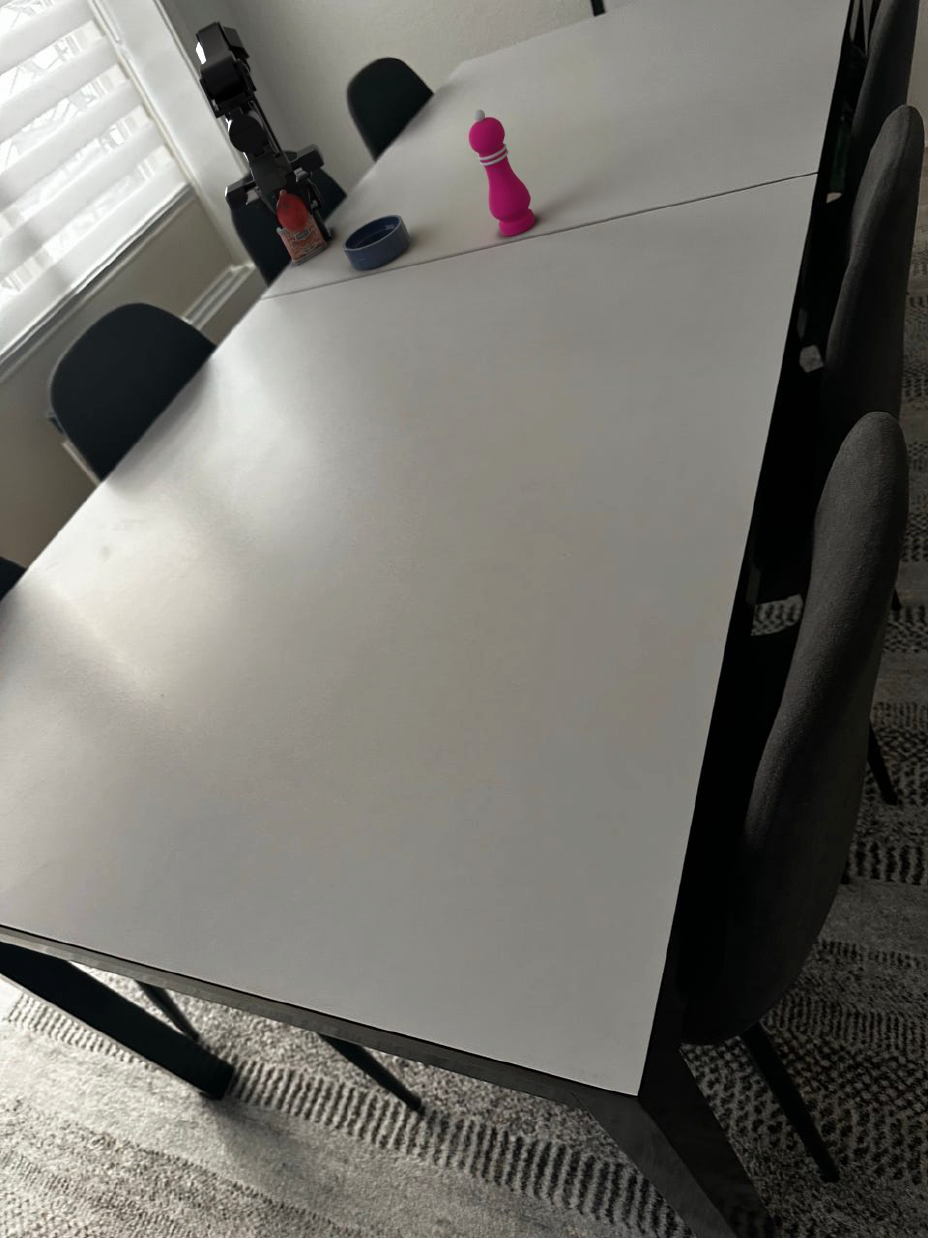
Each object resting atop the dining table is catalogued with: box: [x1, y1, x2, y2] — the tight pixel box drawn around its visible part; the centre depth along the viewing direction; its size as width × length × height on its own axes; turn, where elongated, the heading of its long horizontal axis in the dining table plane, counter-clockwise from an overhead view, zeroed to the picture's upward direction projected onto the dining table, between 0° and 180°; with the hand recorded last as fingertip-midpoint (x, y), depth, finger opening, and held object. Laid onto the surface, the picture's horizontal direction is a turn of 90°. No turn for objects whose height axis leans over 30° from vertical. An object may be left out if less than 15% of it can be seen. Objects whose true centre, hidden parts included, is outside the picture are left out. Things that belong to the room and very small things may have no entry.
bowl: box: [341, 214, 412, 271], centre depth 177 cm, size 12×12×4 cm
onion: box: [275, 190, 309, 233], centre depth 171 cm, size 6×6×8 cm
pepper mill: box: [468, 109, 536, 237], centre depth 156 cm, size 7×7×20 cm
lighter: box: [276, 211, 328, 266], centre depth 190 cm, size 8×3×10 cm, turn 118°
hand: (297, 221), depth 172 cm, fingers closed on onion, 6 cm apart
